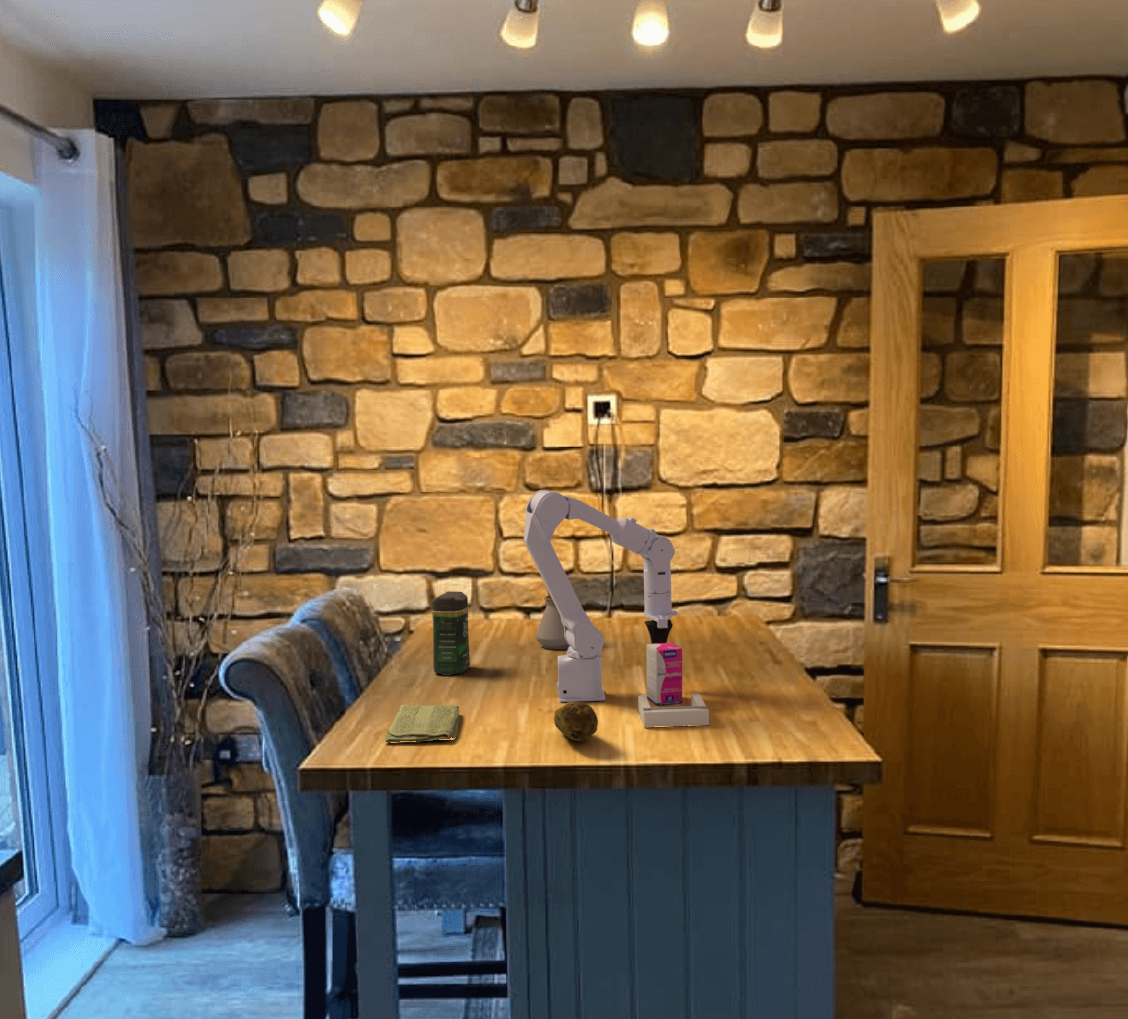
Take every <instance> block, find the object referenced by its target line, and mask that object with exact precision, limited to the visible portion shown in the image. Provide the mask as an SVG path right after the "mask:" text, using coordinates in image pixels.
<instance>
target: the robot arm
mask: <svg viewBox="0 0 1128 1019" xmlns="http://www.w3.org/2000/svg"><path fill="white" fill-rule="evenodd" d="M524 510H525V523H524V532H523V542H524V544H525V546H526V548H527V551H528V553H529V555H530V557H531V558H532V561H533V562H534V565H535V566H536V569H537V571H538V573H539V575H540V577H541V579H542V581H543V583H544V585H545V588H546V589H547V592H548V593H549V595H551V597H552V599H553V602H554V604H555V606H556V608H557V610H558V612H559V614H560V616H561V622H562V624H563V626H564V637H565V640H566V642H567V643H568V644H569V645H570V647H569V648H567V651H566V654H562V655H558V656H557V681H558V682H556V691H557V692H558V701H559V702H561V703H569V702H574V701H577V702H596V701H598V702H599V701H606V694H605V690H604V688H603V668H602V667H603V666H602V665H603V664H602V662H603V661H602V657H603V656H602V650H603V648H604V645H605V637H604V635H603V633H602V632H601V631H600V630H599V629H598V628H597V627H595V626H594V624H593V623H592V621H591V619H590V617H589V616H588V614H587V613H586V611H585V609H584V608H583V607H582V604H581V602H580V600H579V598H578V596H577V594H576V592H575V590H574V587H573V586H572V584H571V582H570V580H569V577H568V576H567V573H566V572H565V570H564V569H565V568H564V567H563V566H562V565H563V564H562V563H561V561H560V559H559V556H558V555H557V553H556V551H555V549H554V547H553V545H552V543H551V541H552V538H553V535H554V534H555V530H556V529H557V527H559V525H560V524H561V523H562V522H563V521H564V519H566V520H569V521H570V520H580V521H582V522H585V523H587V524H589V525H592V526H594V527H596V528H597V529H600V530H602V531H604V532H606V533H608V534H609V537H610V539H611V542H612V543H614V544H616V545H618V546H620V547H622V548H624V549H626V550H628V551H630V552H632V553H634V554H636V555H640V556H641V557H642V559H643V592H644V593H643V594H644V596H643V597H644V599H643V600H644V604H643V605H644V611H643V617H644V618H647V619H649V620H644V624H645V626H646V629H647V631H648V635H649V638H650V642H651V643H650V644H658V643H668V639H669V635H670V632H671V630H672V629H673V626H674V625H673V622H672V620H671V618H672V617H674V616H678V611H677V610H673V609H672V608H673V607H672V606H673V604H672V568H671V561H672V559H673V558H674V557H675V555H676V554H675V552H676V549H675V548H674V545H673V543H672V542H671V540H670V539H669V538H668V537H666V536H663V535H659V534H657V533H656V530H655V529H654V528H651V527H650V528H647V527H645V526H644V525H641V524H639V523H637V519H635V518H633V517H629V518H627V517H622V518H620V519H615V518H614V517H612V516H609V515H607V514H606V513H604V512H602V511H601V510H600V509H599V510H598V509H597V508H595V507H593V506H591V505H589V504H587V503H586V502H584V501H581V500H580V499H577V498H574V497H571V496H567V495H563V494H562V493H560V492H557V491H556V492H555V491H551V490H549V489H540V490H537V491H535V492H534V493H533V494H532V496H530V499H529V500H528V503H527V505H526V507H525V508H524Z"/></svg>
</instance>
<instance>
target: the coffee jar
mask: <svg viewBox="0 0 1128 1019" xmlns="http://www.w3.org/2000/svg"><path fill="white" fill-rule="evenodd" d="M431 614H432V615H431V616H432V638H433V641H432V642H433V643H432V644H433V648H432V649H433V650H432V652H433V656H432V658H433V660H432V661H433V663H432V664H433V666H432V667H433V672H434V673H435V674H441V675H442V676H452V675H454V674H457V675H458V674H463V673H464V672H465V671H467V670H468V669H469V668H470V665H471V661H470V660H471V657H470V639H469V597H468V595H466V593H463V591H445V593H442V594H440V595H439V596H436V597H434V598H432V600H431Z"/></svg>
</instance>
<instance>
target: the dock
mask: <svg viewBox="0 0 1128 1019" xmlns="http://www.w3.org/2000/svg"><path fill="white" fill-rule="evenodd" d="M637 697H638V698H637V701H638V702H637V706H638V707H637V708H638V710H639V711H638V713H640V714H639V716H640V719H641V722H642V721H643V722H642V725H643V724H644V725H643V727H644V726H645V727H650V726H651V727H654V726H684V725H685V726H688V725H709V726H710V711H709V708H708V705H706V703H705V702H704V700H703V698H702V697H701V695H700V693H697V692H696V693H690V703H691V704H690V705H689V706H688V705H687V706H685V705H684V706H659V707H658V706H656V707H651V705H650V701H649V700H648V699H647V694H642V695H641V694H640V695H639V694H638V695H637Z"/></svg>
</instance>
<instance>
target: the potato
mask: <svg viewBox="0 0 1128 1019" xmlns="http://www.w3.org/2000/svg"><path fill="white" fill-rule="evenodd" d="M598 718H599V717H598V716H597V713H596V712H595V710H594V709H593V708H592V706H591V705H590V704H588V703H587V702H582V701H573V702H565V704H564V705H562V706H560V707H559V708H557V709H555V712H554V718H553V720H554V726H555V727H556V728H557V729H558V730H559V732H560V733H561V734H562V735H564V736H565V737H567V738H568V739H570V740H573V741H576V742H584V741H587V740H589V739H590V738H591V737H593V735H594V734H595V733H597V731H598V726H599V719H598Z"/></svg>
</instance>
